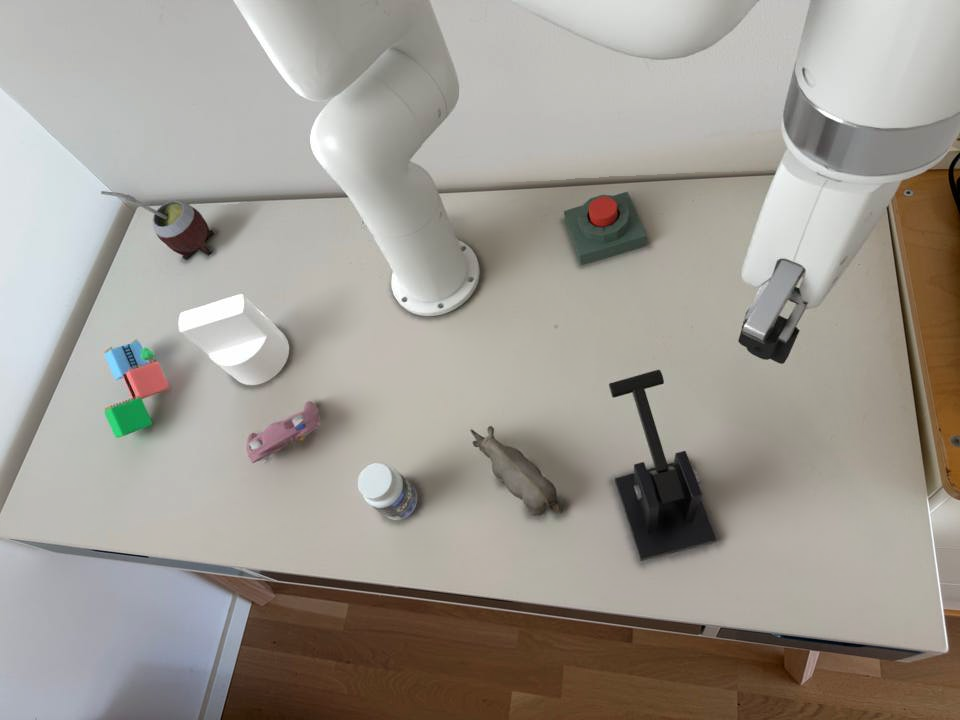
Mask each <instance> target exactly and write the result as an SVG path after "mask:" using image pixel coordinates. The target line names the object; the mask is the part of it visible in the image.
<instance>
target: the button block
mask: <svg viewBox="0 0 960 720" xmlns="http://www.w3.org/2000/svg"><path fill="white" fill-rule="evenodd" d="M600 197H609V198H611V199H613V200H614V201H615V202H616V204H617V219H616V221H615V222H614V223H613V224H611V225H609V226H606V227H599V226H596V225H594V224H593V223H592V222H591V220H590V215H589V206H590V204H591V202H592V201H593V200H595V199H597V198H600ZM563 217H564V222H565V226H566V227H567V230H568V234H569V236H570V238H571V242H572V245H573V248H574V250H575V254H576V256H577V258H578V262H579V264H580V266H584V265H587V264H589V263H590V264H591V263H593V262H596V261H600V260H604V259H608V258H610V257H614V256H617V255H621V254H623V253H627V252H630V251H634V250H636V249H637V250H638V249H640V248H644V247H646V246H647V245H648V244H647V243H648V242H647V241H648V240H647V239H648V237H647V233H646V231H645V228H644V226H643V223H642V221H641V219H640V217H639V215H638V211H637V210H636V207H635V205H634V202H633V201H632V199H631V196H630V194H629V191H624V192H621V193H617V194H615V195H611V194H600V195H597V196H593V197H591V198H589V199H587V201H585V203H583V204H582V205H579V206H576V207H573V208H569V209H567V210H563ZM647 247H648V246H647Z"/></svg>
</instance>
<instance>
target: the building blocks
mask: <svg viewBox="0 0 960 720" xmlns="http://www.w3.org/2000/svg"><path fill="white" fill-rule="evenodd" d="M154 357H155V353H154V351H153V350H151V349H150V348H149V347H143V346H142V344H141V342H140V340H138V338H137V339H135V340H134V341H132V342H130V343H128V344H123V345H121V346H117V347H114V348H113V347H112V346H110V347H109V348H107V349H106V350H105V351H104V358H105V360H106V363H107V364H108V367H109V370H110V371H111V374H112V376H113V378H114V380H116V381H118V380H121V379H123V382H124V384H125V387H126V388H127V391H128V393H129V395H130V397H131V398H128V399H125V401H124V400H122V402H121V401H119V402H117V403H116V404H115V403H113V405H109V406H107V407H105V408H104V409H103V410H104V412H103V413H104V416H105V418H106V420H107V422H108V424H109V426H110V428H111V431H112V433H113V435H114V438H116V439H118V438H119V439H120V438H123V437H125V436H128V435H130V434H132V433H135V432H138V431H141V430H143V429H146V428H148V427H150V426H152V425H153V421H152V419H151V417H150V415H149V412H148V410H147V407H146V406H145V403H144V401H143V399H145V398H148V397H149V398H150V397H152V396H154V395H157V394H160V393H162V392H164V391H167V390H169V388H170V386H169V383H168V381H167V379H166V377H165V374H164V372H163V370H162V367H161V364H160V363H159V361H157V360H156V359H154V360H152V359H153V358H154Z"/></svg>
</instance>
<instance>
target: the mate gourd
mask: <svg viewBox="0 0 960 720" xmlns="http://www.w3.org/2000/svg"><path fill="white" fill-rule="evenodd" d="M100 194H101V195H105V196H111V197H112V196H113V197H116V198H117V197H118V198H121V199H125V201H128V202H129V203H133V204H135V205H137V206H139V207H141V208H142V209H144V210H146V211H148V212H150V213H152V214H153V217H152V227H153V231H154V234H155V235H156V236H157V237H158V239H159V240H160V241H161V242H162V243H164V244H165V245H166V246H167V248H169V249H170V250H172V251H173V252H175V253H176V254H179V255H181V256H182V259H184V260H185V261H188V260H189V259H190V258H191V257H192V256H193V255H194V254H195V253H197V252H198V251H199V250H200V251H201V252H202V253H203V254H205V255H206V256H208V257H209V256H210V255H211V254H212V251H211V250H210V249H209V248H208V247H206V246H205V244H206V243H207V242H208V241H209V240H210V239H211V238H212V237H213V236H215V232H214V231H213V229H210V227H209V225H208V223H207V221H206V219H205V217H203V215H202V214H201V212H200V211H199V210H198V209H196V208H195V207H193V205H191V204H189V203H188V202H185V201H181V200H171V201H167V202H165V203H163V204H162V205H161V206H159V207H158V208H157V209H154V208H152V207H150V206H149V205H147V204H145V203H144V202H142V201H139V200H138V199H136V198H135V197H134V196H132V195H130V194H125V193H120V192H116V191H104V190H101V191H100Z"/></svg>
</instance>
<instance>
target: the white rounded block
mask: <svg viewBox="0 0 960 720" xmlns="http://www.w3.org/2000/svg"><path fill="white" fill-rule="evenodd" d="M177 324H178V331H179V333H180V334H182V335H183V336H184V337H185V338H187V340H189V341H190V342H192V343H193V344H194V345H195V346H197V347H198V348H199V349H200V350H202V351H203V352H205V354H207V356H208V357H209V359H210V360H211V362H214V364H216V365H218V367H219V368H221V369H222V370H224V371H225V372H226V373H227V374H229V375H230V376H231V377H232V378H234V379H235V380H236V381H237V382H238V383H241V384H243V385H246V386H256V385H262V384H264V383H266V382H269V381H270V380H272V379H273V378H275V377H276V376H277V375H278V374H279V373H280V372H281V371H282V370H283V368H284V367H285V365H286V363H287V361H288V358H289V355H290V345H289V340H288V339H287V337H286V336H285V334H284V333H283V332H282V331H281V330H280V329H279V328H278V327H277V326H276V324H274V323H273V322H272V321H271V320H270V319H269V318H268V317H267V316H266V315H265V313H263V312H262V311H260V310H259V309H258V308H257V307H256V306H255V304H253V303H252V302H251V301H250V300H249V299H248V298H247V296H245V294H243V293H239V294H236V295H232V296H229V297H226V298H223V299H219V300H217V301H213V302H210V303H207V304H204V305H201V306H197V307H193V308H191V309H188V310H184V311H182V312H180V313H179V317H178V323H177Z"/></svg>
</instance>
